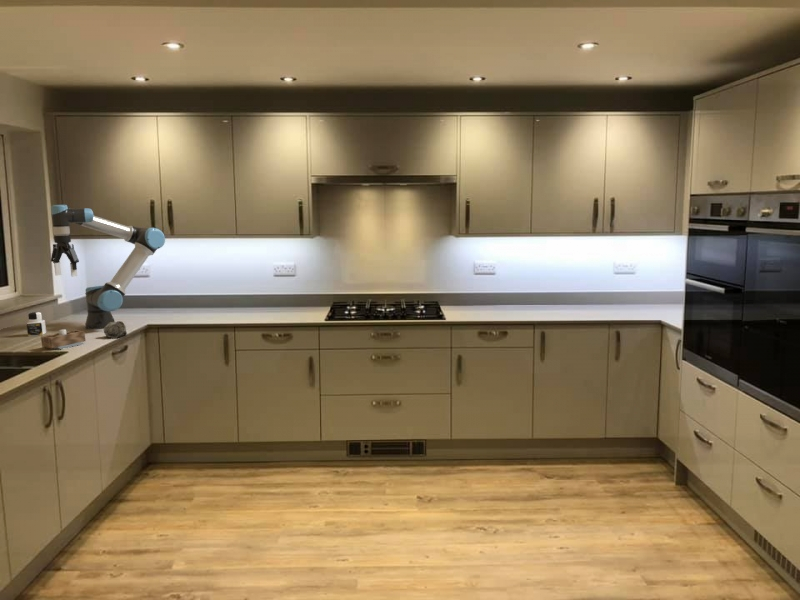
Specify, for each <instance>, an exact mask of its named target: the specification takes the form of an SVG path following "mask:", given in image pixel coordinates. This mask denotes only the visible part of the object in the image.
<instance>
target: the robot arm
mask: <svg viewBox="0 0 800 600" xmlns="http://www.w3.org/2000/svg"><path fill="white" fill-rule="evenodd" d="M50 213H51V220H52V231H53V235H54V236H53V239H54V244H52V251H51V252H52V253H51V258H50V262H52V263H53V264H54V265H53V266H54V273H55V276H56V277H57V276H62V268H61V262H60V261H61V258H62V255H63V254H65V255H66V257H67V259H68V260H69V262H70V265H69V266H70V276H71V277H78V267H77V264H78V263H79V262H80V260H79V258H78V255H77V253H76V249H75V247H74V244H73V243H71V242H72V241H71V240H72V238H71V235H70V234H71V229H70V224H73V225H74V224H75V225H78V226H82V227H84V228H88V229H91V230H94V231H96V232H101V233H104V234H107V235H109V236H113V237H116V238H119V239H123V240H124V242H126V243H130V244H133V245H134V248H133V249H132V251H131V252H130V254H129V255H128V256H127V258H126V259H125V261H124V262H123V263H122V265H121V266H120V268H119V269H118V271H117V272H116V273H115V274H114V276H113V277H112V279H111V280H110V281H108V282H105V283H104V285H97V286H96V285H95V286H89V287H86V288H85V300H86V310H87V316H86V319H85V329H88V328H99V329H104V327H105V326H107V324H109V323H110V322H116V321H115V319H114V317H113V314H112V313H111V312H115V311H117V310H118V309H120V308H121V307H122V304H123V303H124V300H123V298H124V297H125V295H126V289H127V287H128V286H129V285H130V283H131V282H132V281H133V279H134V278H135V276H136V275H137V273H138V272H139V271H140V269H141V268H142V267H143V265H144V263H145V262H146V261H147V259H148V258H149V257H150V256H153V255H154V254H155V253H156V251H157V250H159V249H161V248H163V247H164V245H165V243H166V238H165V234H164V232H163V231H162V230H160V229H159V228H156V227H138V226H133V225H129V226H127V225H124V224H122V223H118V222H115V221H112V220H109V219H106V218H104V217H101V216H100V217H99V216H96V215H94V212H93V210H92V209H91V208H88V207H87V208H86V207H83V208H79V207H78V208H70V207H69V208H68V205H67V204H52V205H51V207H50ZM70 243H71V244H70Z"/></svg>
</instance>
